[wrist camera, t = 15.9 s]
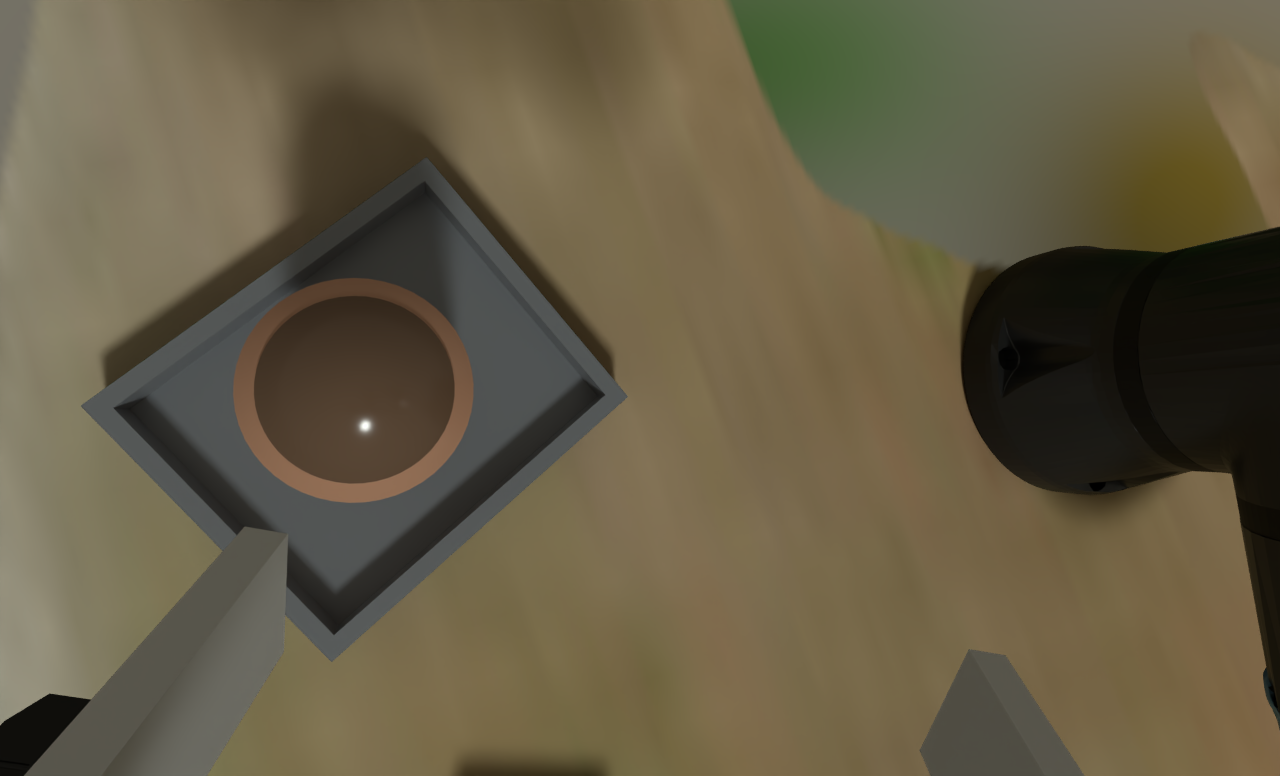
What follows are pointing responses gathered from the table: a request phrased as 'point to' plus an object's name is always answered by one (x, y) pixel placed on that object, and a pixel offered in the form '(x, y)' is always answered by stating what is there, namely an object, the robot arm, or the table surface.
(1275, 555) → the robot arm
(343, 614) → the grey square tray
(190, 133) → the table surface
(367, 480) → the terracotta cup
